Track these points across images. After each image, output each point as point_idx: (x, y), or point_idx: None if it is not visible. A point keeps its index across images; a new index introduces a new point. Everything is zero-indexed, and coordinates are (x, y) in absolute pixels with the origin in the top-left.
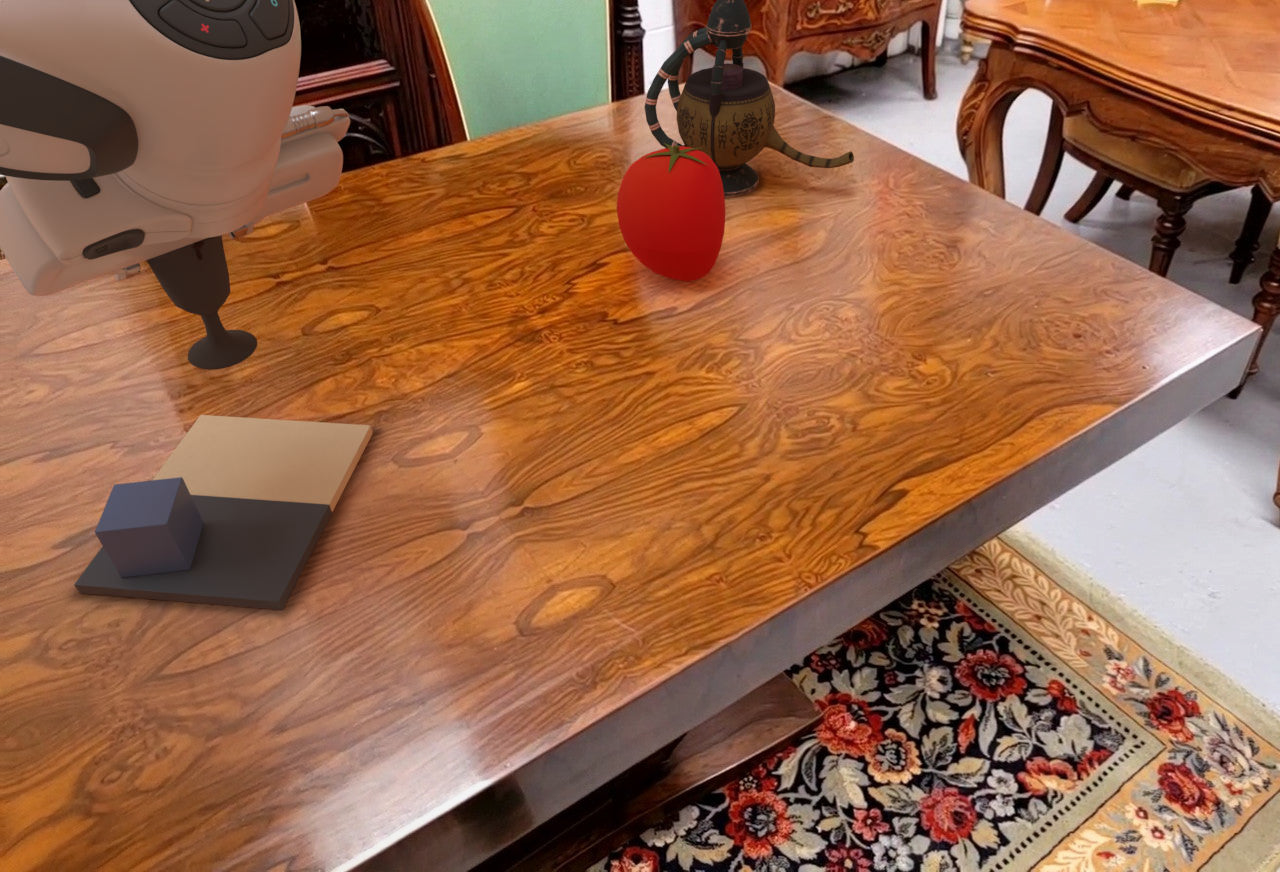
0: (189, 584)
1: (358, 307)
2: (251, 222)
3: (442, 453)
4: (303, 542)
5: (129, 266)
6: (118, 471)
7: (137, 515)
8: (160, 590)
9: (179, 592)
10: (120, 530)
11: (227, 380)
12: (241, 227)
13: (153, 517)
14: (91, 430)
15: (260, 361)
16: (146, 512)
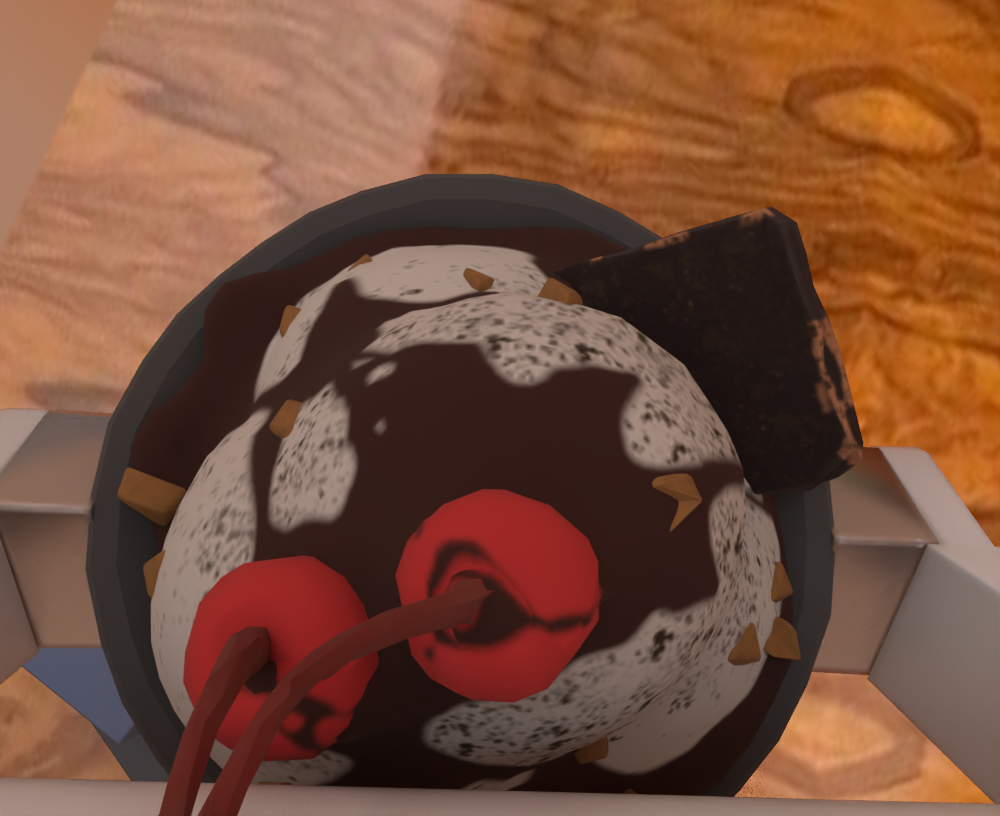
0: (151, 760)
1: (942, 101)
2: (923, 727)
3: (805, 762)
4: None
5: (57, 629)
6: (235, 257)
7: (83, 657)
8: (99, 729)
9: (124, 768)
10: (31, 672)
11: (563, 135)
12: (842, 666)
13: (107, 696)
14: (259, 82)
15: (655, 124)
16: (104, 663)
